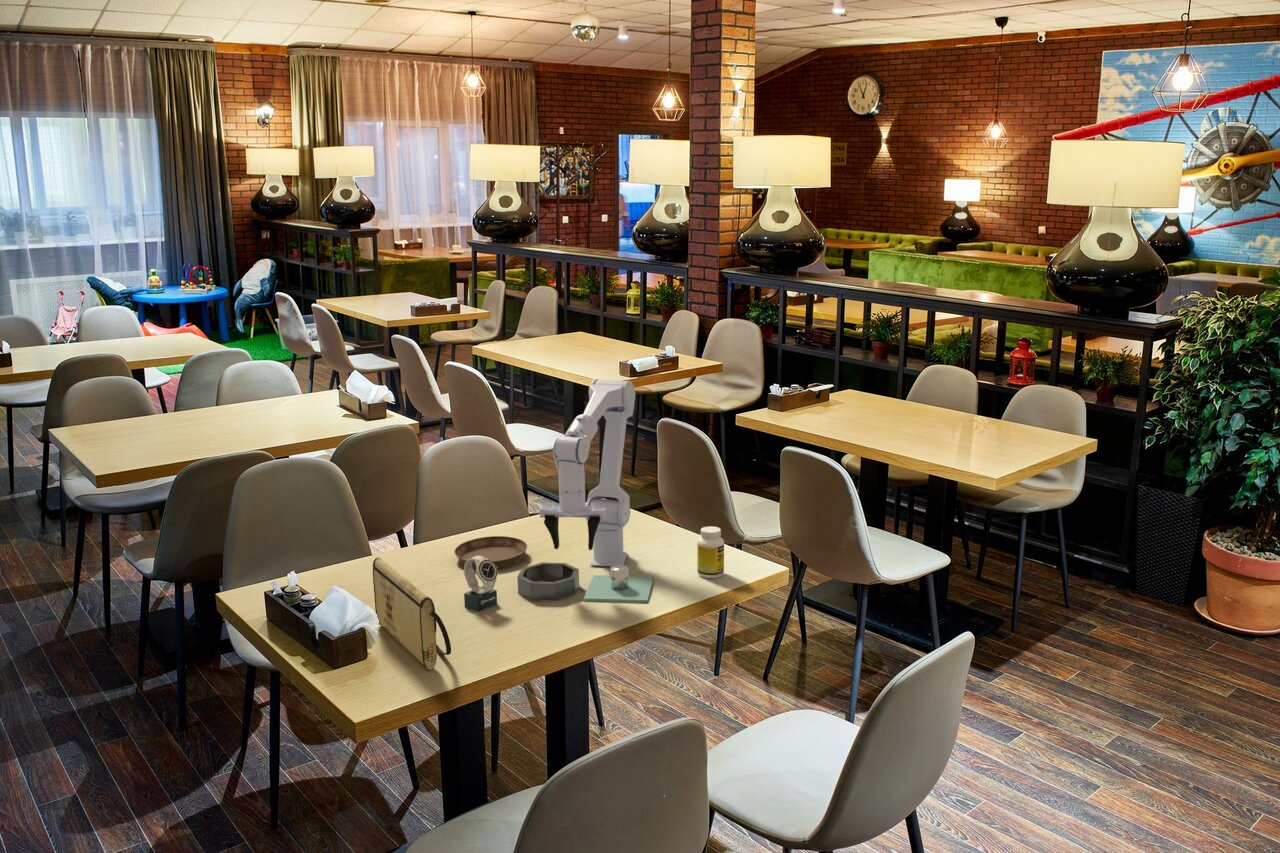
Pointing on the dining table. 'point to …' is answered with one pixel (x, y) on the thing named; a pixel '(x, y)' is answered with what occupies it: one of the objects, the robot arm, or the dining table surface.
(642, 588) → the teal board
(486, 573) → the watch
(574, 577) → the gunmetal ring
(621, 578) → the post
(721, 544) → the pill bottle
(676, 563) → the dining table surface
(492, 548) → the plant saucer
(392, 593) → the clutch purse
